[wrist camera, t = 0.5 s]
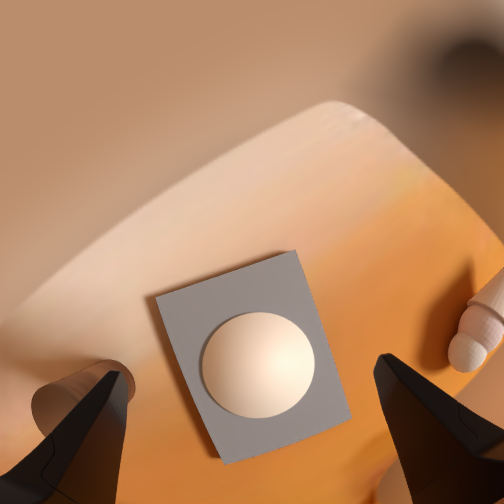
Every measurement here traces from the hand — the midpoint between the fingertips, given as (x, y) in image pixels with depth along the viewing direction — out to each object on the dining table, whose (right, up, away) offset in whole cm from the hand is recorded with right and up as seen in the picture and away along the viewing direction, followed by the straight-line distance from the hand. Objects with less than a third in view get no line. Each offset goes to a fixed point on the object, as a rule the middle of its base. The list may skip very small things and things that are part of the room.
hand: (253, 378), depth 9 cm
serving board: (0, -5, +15) cm, 16 cm away
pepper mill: (-12, -8, +14) cm, 20 cm away
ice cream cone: (+25, -2, +17) cm, 30 cm away
